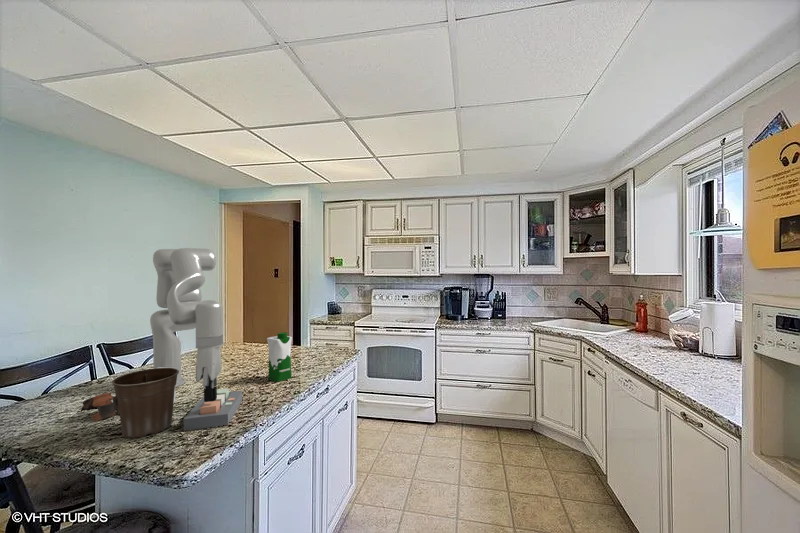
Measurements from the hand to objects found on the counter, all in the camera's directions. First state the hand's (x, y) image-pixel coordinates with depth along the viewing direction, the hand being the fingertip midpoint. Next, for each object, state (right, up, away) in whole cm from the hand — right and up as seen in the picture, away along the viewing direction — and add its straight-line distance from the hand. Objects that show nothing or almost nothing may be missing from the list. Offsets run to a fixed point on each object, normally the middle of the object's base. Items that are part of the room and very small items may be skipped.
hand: (210, 400), depth 106 cm
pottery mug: (-39, -8, +7) cm, 40 cm away
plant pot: (-17, -7, -4) cm, 19 cm away
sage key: (-3, -4, +12) cm, 13 cm away
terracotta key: (0, -4, 0) cm, 4 cm away
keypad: (-1, -7, +6) cm, 9 cm away
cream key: (-2, -4, +6) cm, 7 cm away
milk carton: (+7, -7, +42) cm, 43 cm away
